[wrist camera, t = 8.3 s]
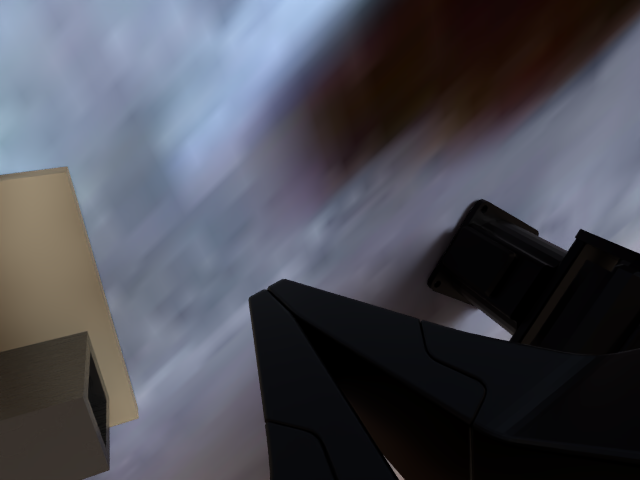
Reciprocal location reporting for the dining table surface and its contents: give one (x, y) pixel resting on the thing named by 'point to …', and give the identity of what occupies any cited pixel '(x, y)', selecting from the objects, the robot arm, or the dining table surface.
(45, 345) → the sleeve
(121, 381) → the birch board
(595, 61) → the dining table surface
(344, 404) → the robot arm
